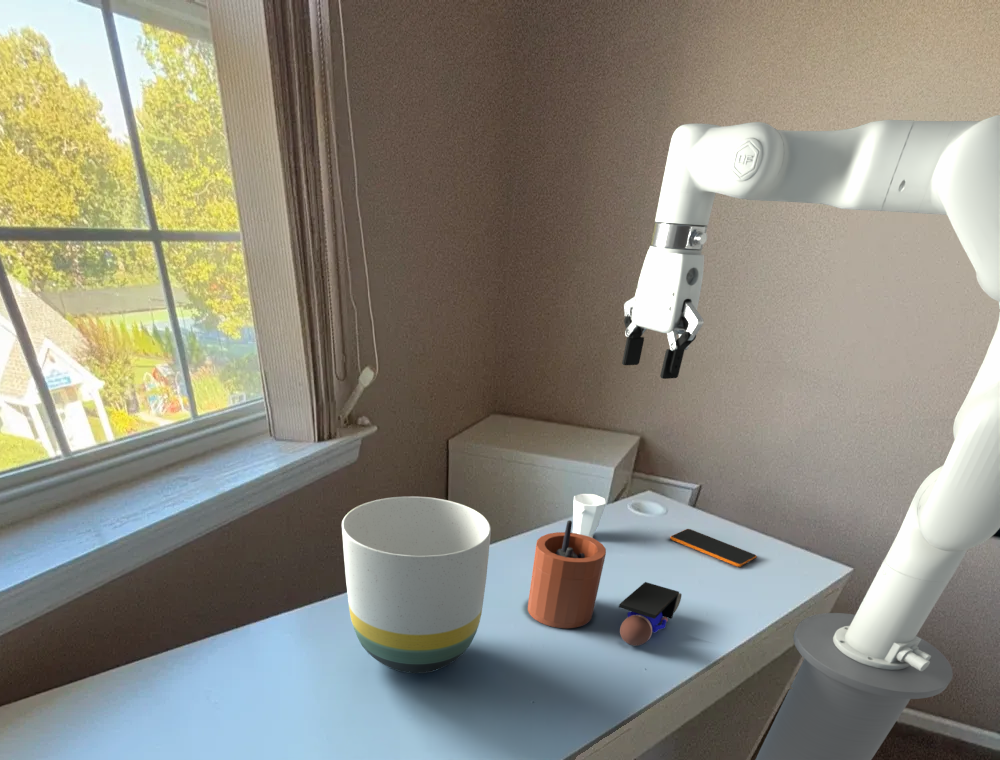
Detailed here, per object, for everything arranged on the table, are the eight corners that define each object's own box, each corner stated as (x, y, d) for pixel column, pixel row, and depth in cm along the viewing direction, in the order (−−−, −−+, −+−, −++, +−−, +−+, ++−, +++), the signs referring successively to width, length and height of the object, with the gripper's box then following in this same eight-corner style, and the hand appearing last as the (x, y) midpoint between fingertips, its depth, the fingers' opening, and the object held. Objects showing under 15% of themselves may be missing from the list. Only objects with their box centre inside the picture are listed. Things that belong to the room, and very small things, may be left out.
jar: (604, 621, 109) (619, 555, 101) (549, 633, 104) (561, 566, 97) (568, 591, 116) (579, 528, 108) (515, 602, 112) (523, 537, 104)
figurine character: (638, 614, 114) (607, 641, 103) (650, 574, 110) (619, 598, 99) (674, 626, 111) (646, 656, 100) (687, 586, 107) (660, 612, 96)
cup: (603, 535, 136) (611, 498, 131) (587, 551, 130) (594, 513, 124) (573, 527, 139) (580, 490, 134) (555, 543, 132) (561, 505, 127)
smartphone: (739, 568, 127) (740, 564, 127) (668, 540, 136) (669, 536, 136) (757, 558, 131) (758, 554, 131) (687, 531, 140) (688, 527, 140)
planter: (431, 715, 87) (436, 572, 73) (323, 665, 94) (309, 527, 80) (502, 652, 100) (517, 520, 86) (402, 612, 107) (402, 486, 93)
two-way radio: (545, 599, 111) (558, 516, 102) (569, 598, 112) (584, 516, 102) (554, 615, 107) (568, 530, 97) (579, 614, 108) (596, 530, 98)
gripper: (740, 246, 88) (703, 382, 99) (658, 236, 100) (633, 359, 111) (699, 244, 85) (666, 384, 96) (620, 234, 97) (598, 360, 108)
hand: (648, 371), depth 104 cm, fingers open, 9 cm apart
